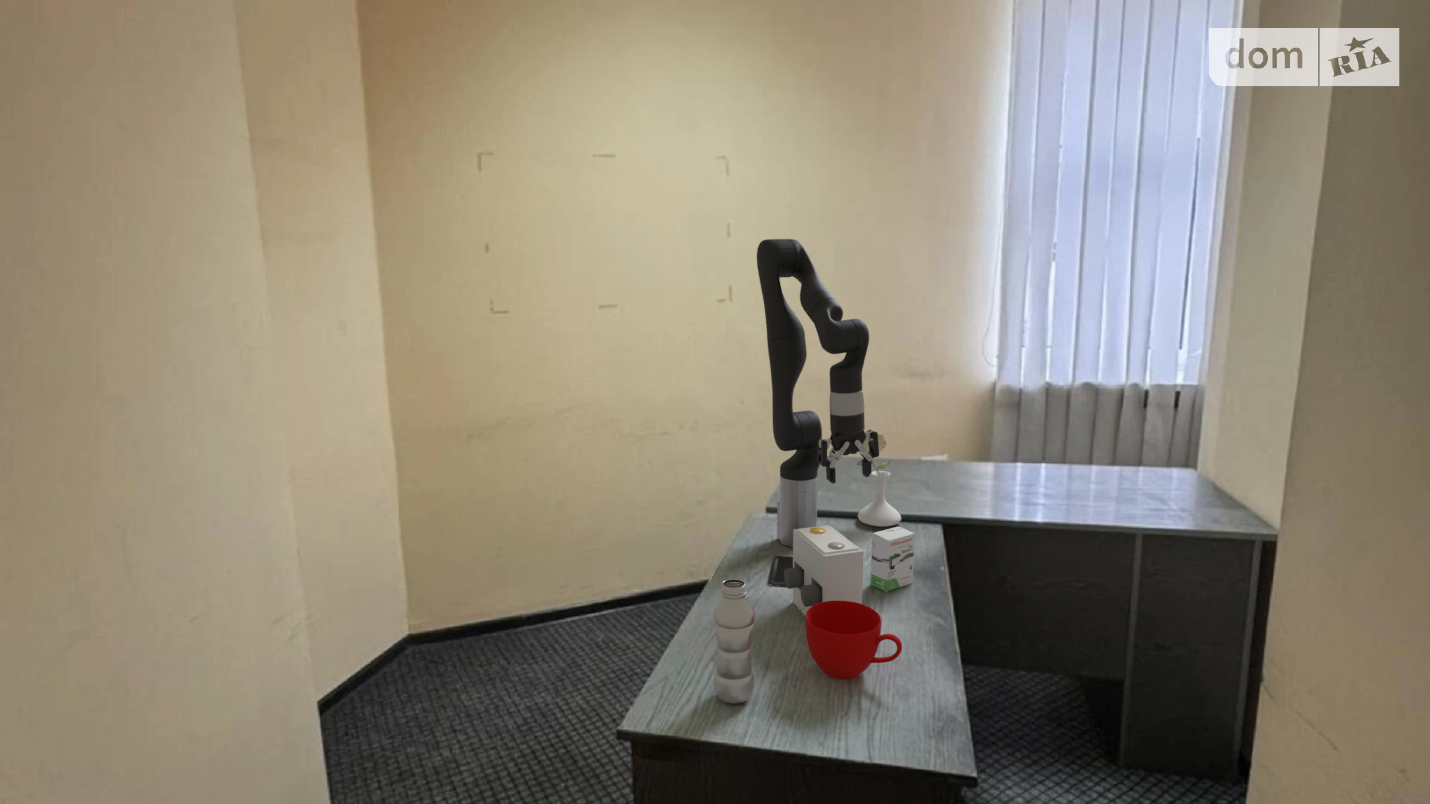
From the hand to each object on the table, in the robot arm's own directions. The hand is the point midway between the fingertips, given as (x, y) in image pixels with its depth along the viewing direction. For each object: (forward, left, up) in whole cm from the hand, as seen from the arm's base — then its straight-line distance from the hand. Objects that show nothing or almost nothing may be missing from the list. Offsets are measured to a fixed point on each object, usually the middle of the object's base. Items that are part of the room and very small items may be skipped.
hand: (849, 479), depth 175 cm
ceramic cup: (+34, -32, -21) cm, 51 cm away
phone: (-5, -13, -22) cm, 26 cm away
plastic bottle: (+28, -53, -21) cm, 63 cm away
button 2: (+18, -27, -16) cm, 36 cm away
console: (+15, -20, -21) cm, 33 cm away
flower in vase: (-16, +27, -21) cm, 38 cm away
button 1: (+10, -24, -16) cm, 30 cm away
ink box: (+13, +1, -21) cm, 25 cm away
